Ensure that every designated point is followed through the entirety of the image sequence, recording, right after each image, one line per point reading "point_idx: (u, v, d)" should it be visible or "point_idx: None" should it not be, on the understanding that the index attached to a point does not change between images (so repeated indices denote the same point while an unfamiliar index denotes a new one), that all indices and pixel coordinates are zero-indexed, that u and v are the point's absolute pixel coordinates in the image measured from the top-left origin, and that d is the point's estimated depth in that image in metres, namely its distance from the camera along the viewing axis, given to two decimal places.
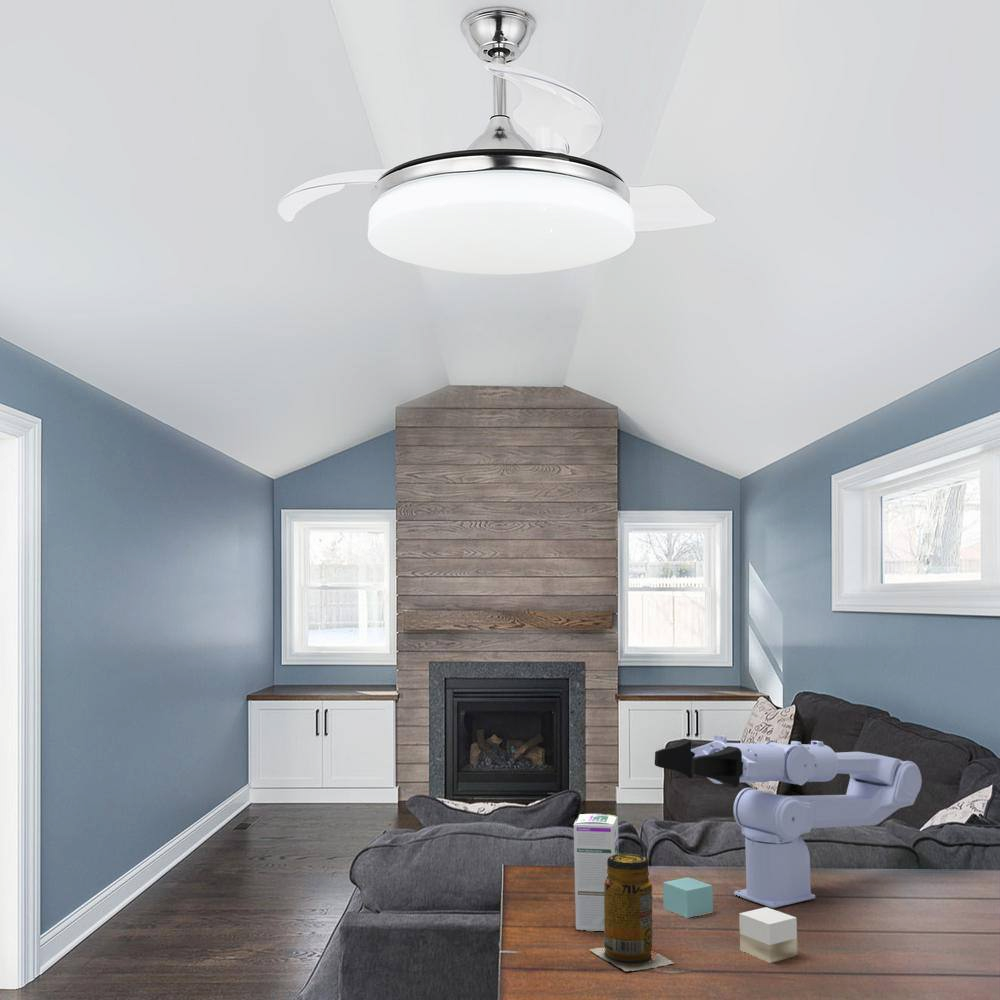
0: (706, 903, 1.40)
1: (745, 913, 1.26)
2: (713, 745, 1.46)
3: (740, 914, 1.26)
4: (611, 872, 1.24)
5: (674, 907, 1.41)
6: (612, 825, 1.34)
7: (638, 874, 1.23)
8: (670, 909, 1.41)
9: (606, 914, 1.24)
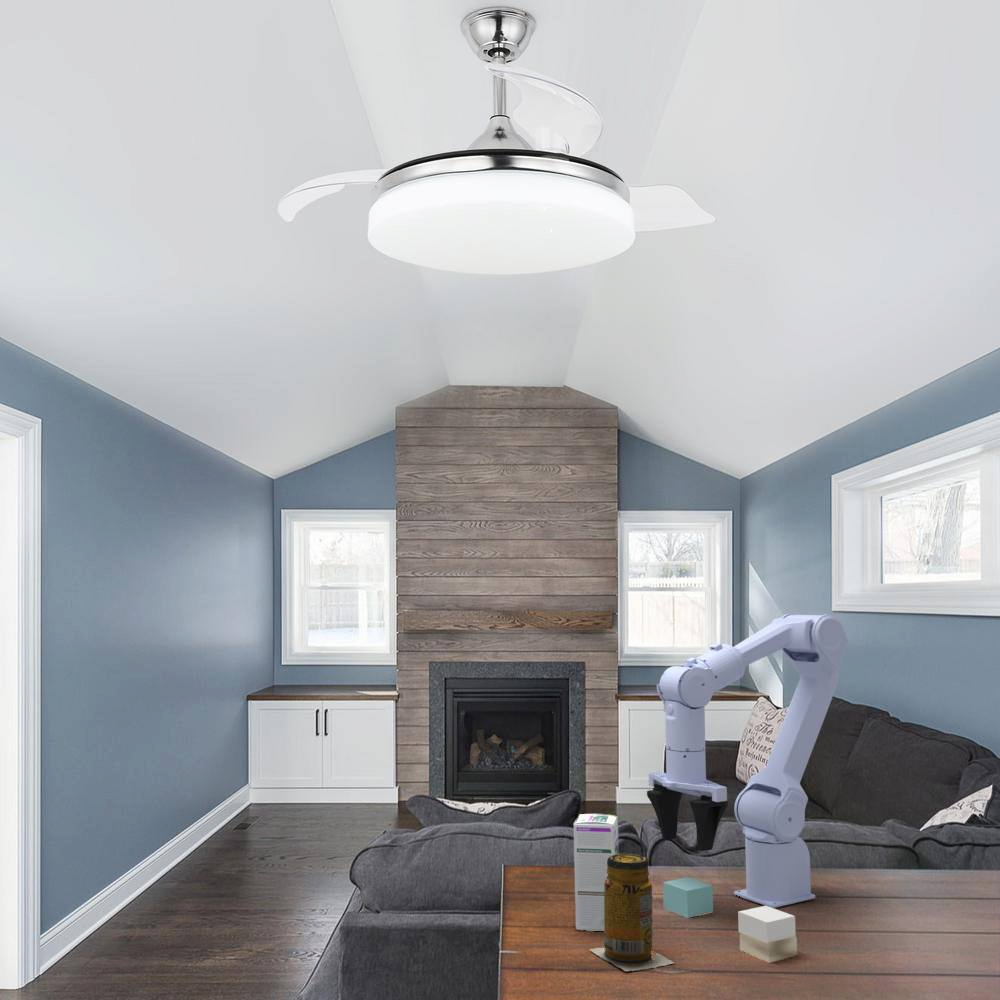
0: (706, 903, 1.40)
1: (744, 911, 1.27)
2: None
3: (739, 912, 1.26)
4: (611, 872, 1.24)
5: (674, 907, 1.41)
6: (612, 825, 1.34)
7: (638, 874, 1.23)
8: (670, 909, 1.41)
9: (606, 914, 1.24)
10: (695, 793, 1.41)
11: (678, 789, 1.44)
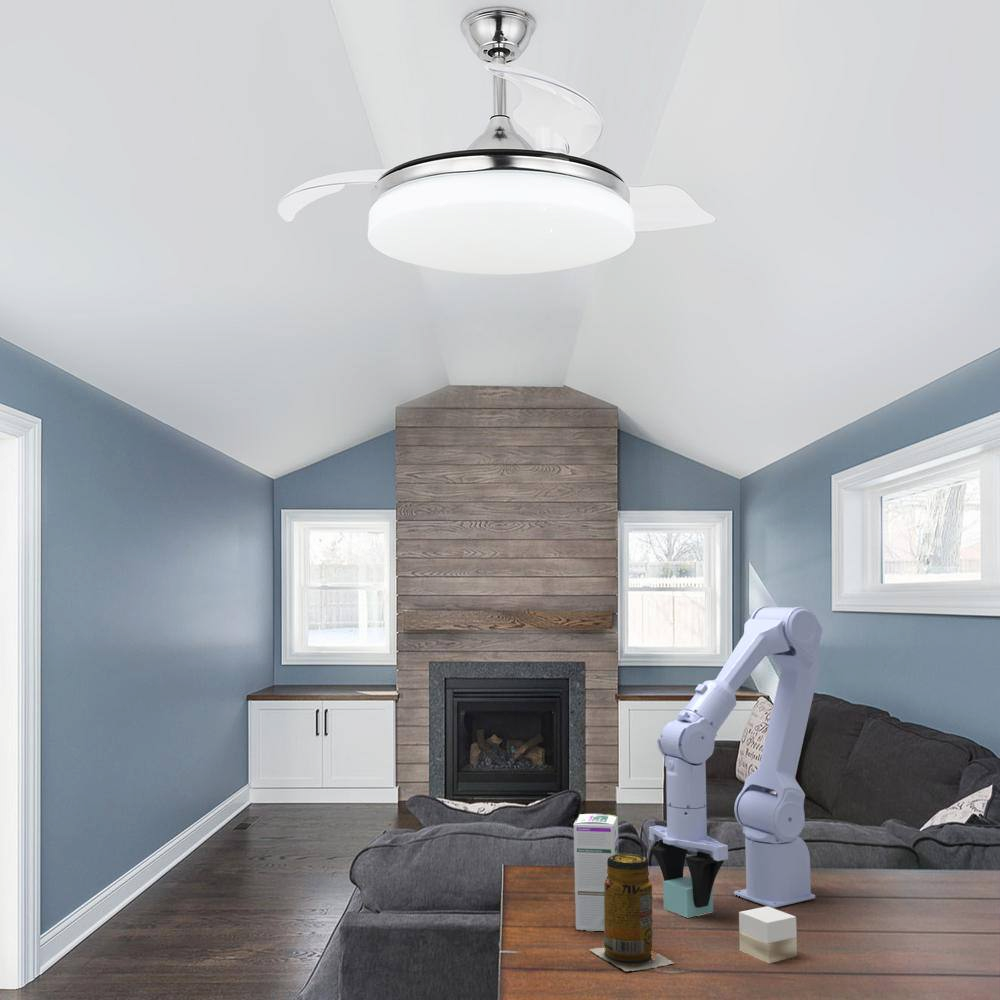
0: None
1: (745, 912, 1.26)
2: None
3: (740, 913, 1.26)
4: (611, 872, 1.24)
5: (674, 906, 1.41)
6: (612, 825, 1.34)
7: (638, 874, 1.23)
8: (670, 908, 1.41)
9: (606, 914, 1.24)
10: (696, 850, 1.41)
11: (679, 845, 1.44)
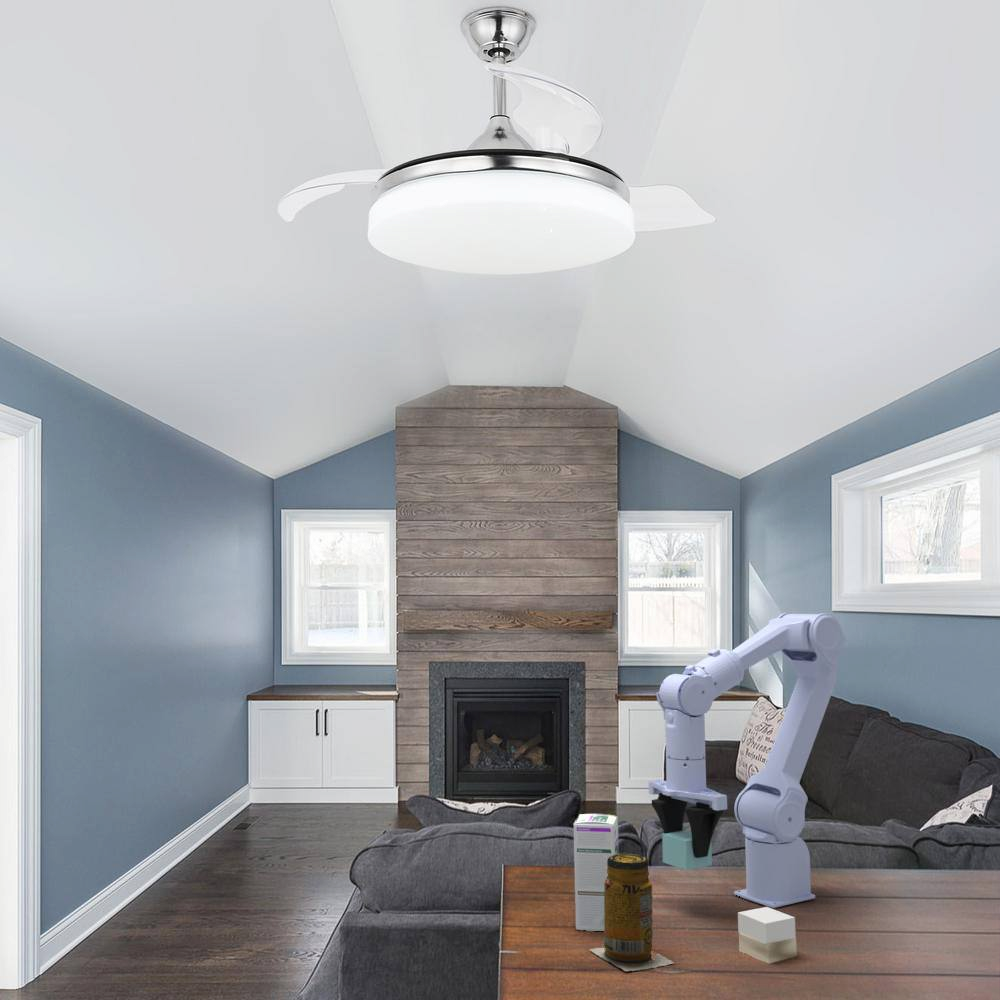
0: None
1: (744, 912, 1.26)
2: None
3: (738, 913, 1.26)
4: (611, 872, 1.24)
5: (673, 858, 1.41)
6: (612, 825, 1.34)
7: (638, 874, 1.23)
8: (669, 860, 1.42)
9: (606, 914, 1.24)
10: (695, 801, 1.41)
11: (678, 797, 1.44)
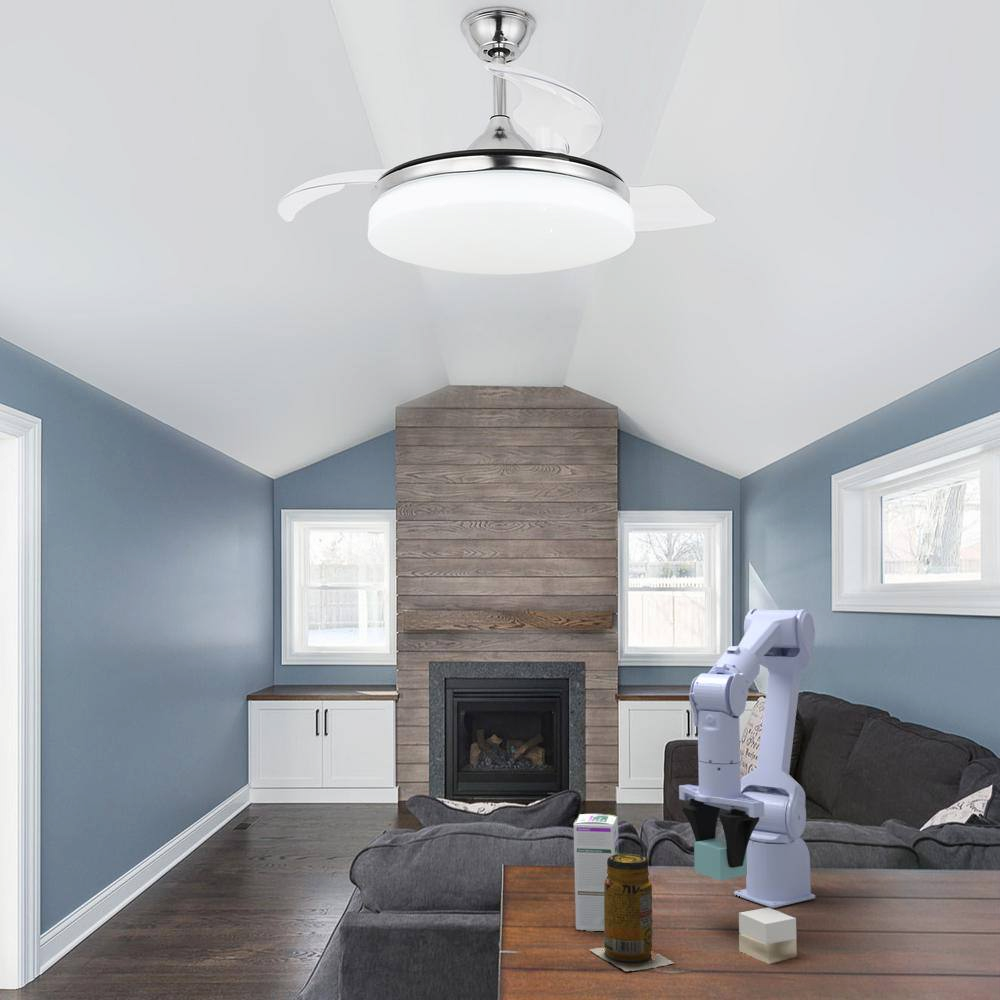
0: None
1: (745, 913, 1.26)
2: None
3: (739, 913, 1.26)
4: (611, 872, 1.24)
5: (706, 868, 1.34)
6: (612, 825, 1.34)
7: (638, 874, 1.23)
8: (702, 870, 1.34)
9: (606, 914, 1.24)
10: (730, 808, 1.34)
11: (711, 803, 1.37)
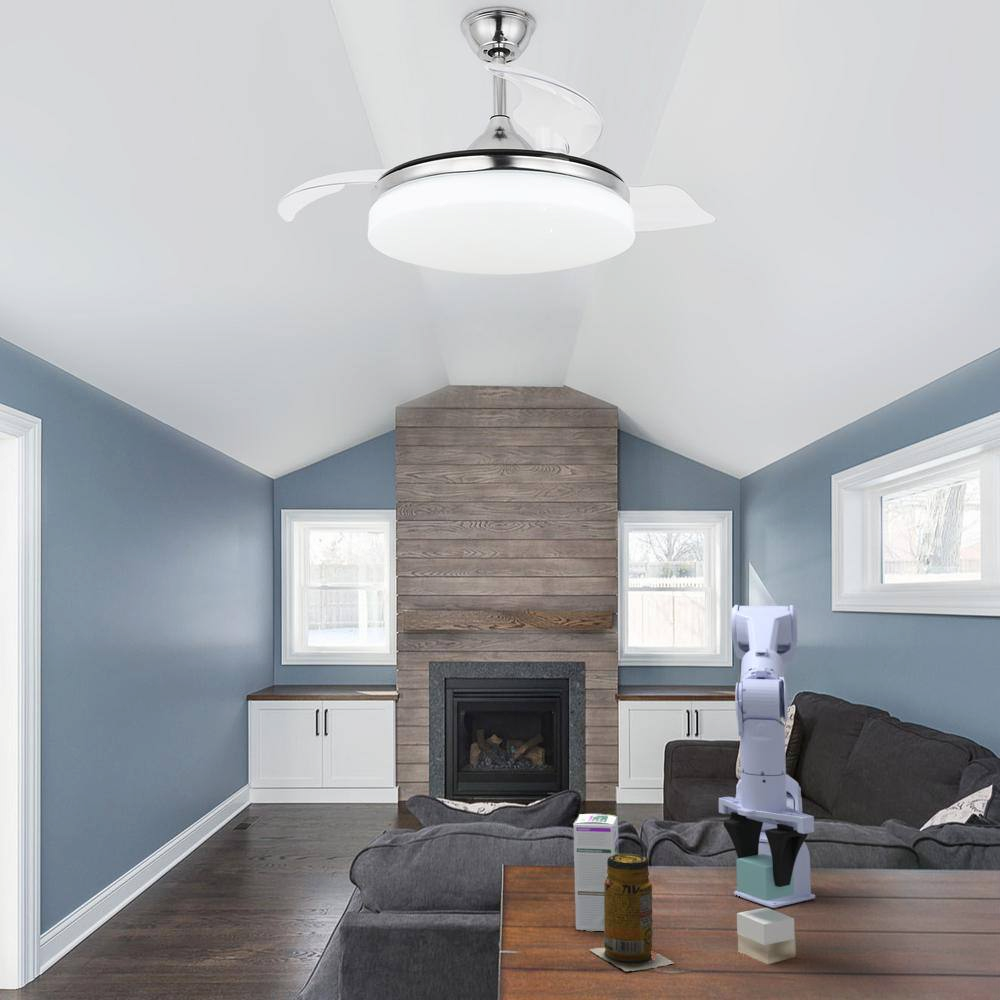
0: None
1: (743, 913, 1.26)
2: None
3: (737, 914, 1.26)
4: (611, 872, 1.24)
5: (750, 887, 1.25)
6: (612, 825, 1.34)
7: (638, 874, 1.23)
8: (745, 889, 1.25)
9: (606, 914, 1.24)
10: (776, 822, 1.25)
11: (755, 817, 1.28)
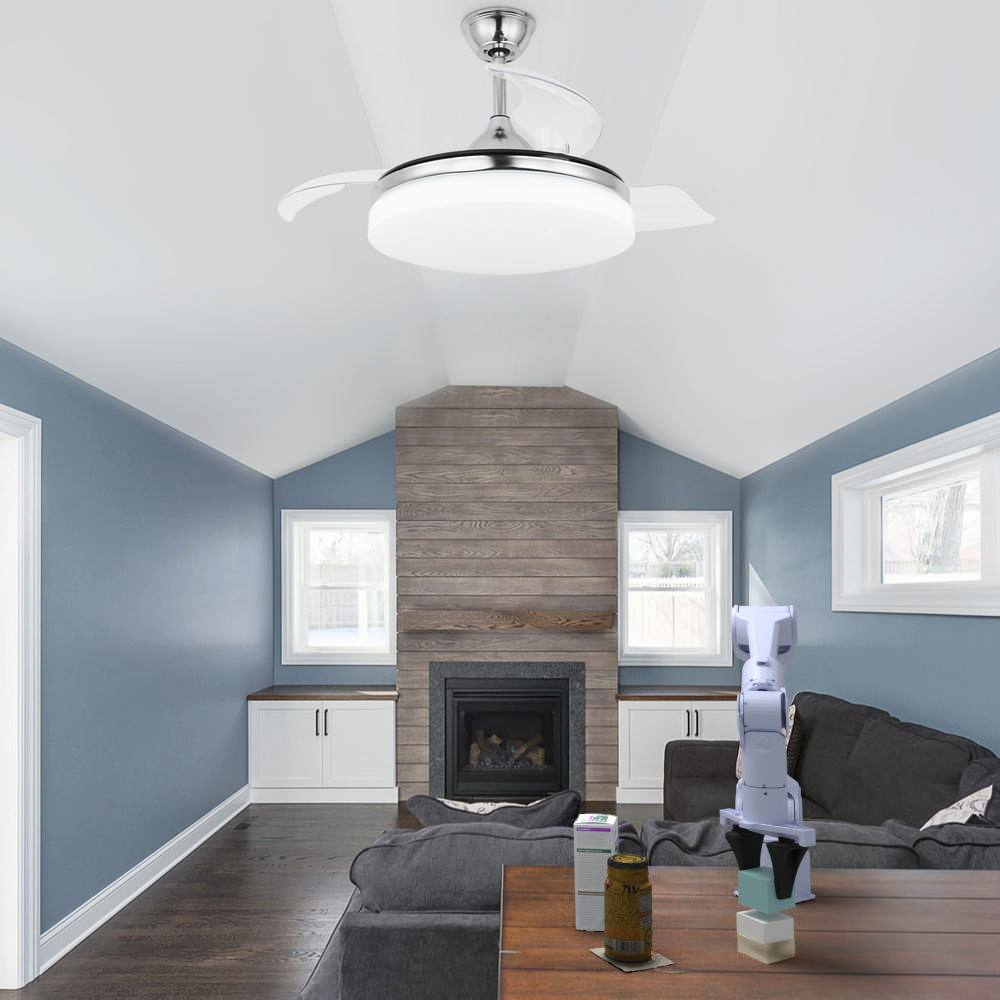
0: None
1: (742, 912, 1.26)
2: None
3: (737, 913, 1.26)
4: (611, 872, 1.24)
5: (751, 900, 1.24)
6: (612, 825, 1.34)
7: (638, 874, 1.23)
8: (747, 902, 1.25)
9: (606, 914, 1.24)
10: (777, 835, 1.24)
11: (756, 830, 1.27)
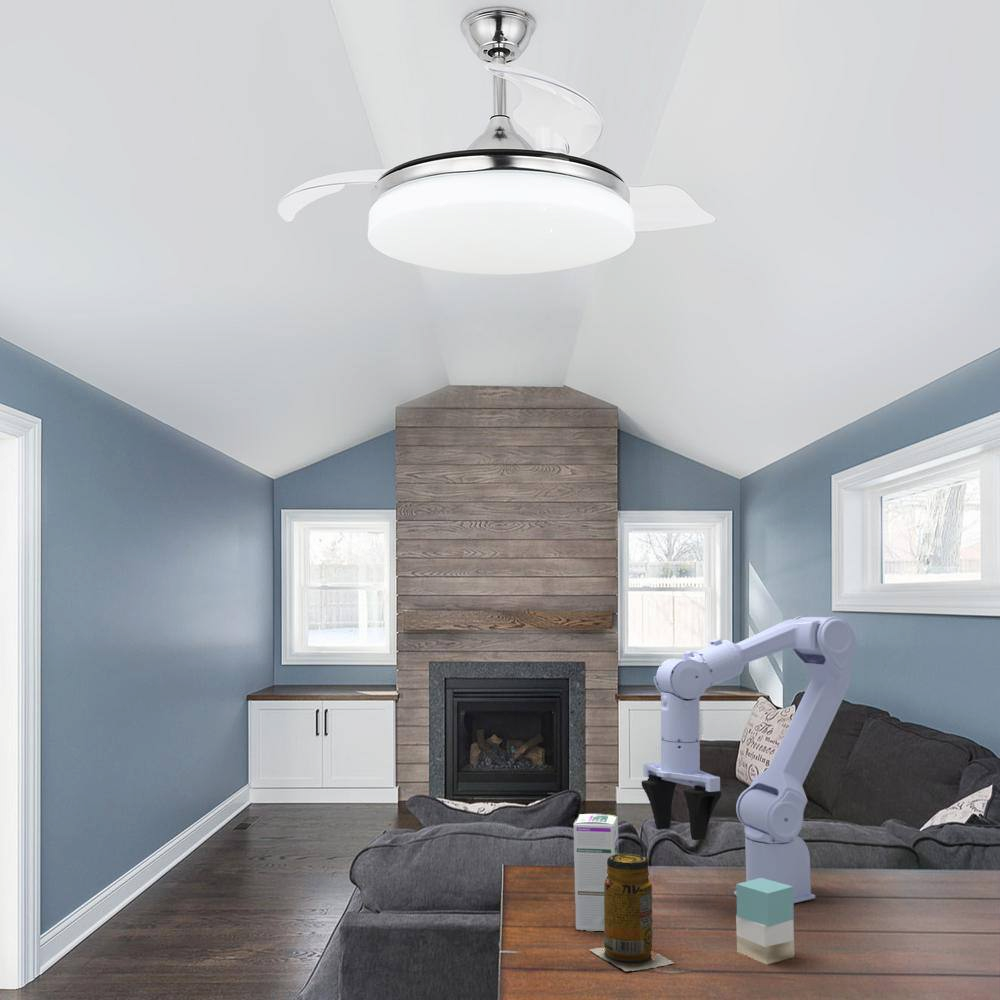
0: (786, 907, 1.24)
1: None
2: None
3: None
4: (611, 872, 1.24)
5: (751, 913, 1.24)
6: (612, 825, 1.34)
7: (638, 874, 1.23)
8: (746, 914, 1.24)
9: (606, 914, 1.24)
10: (689, 783, 1.44)
11: (672, 779, 1.47)
